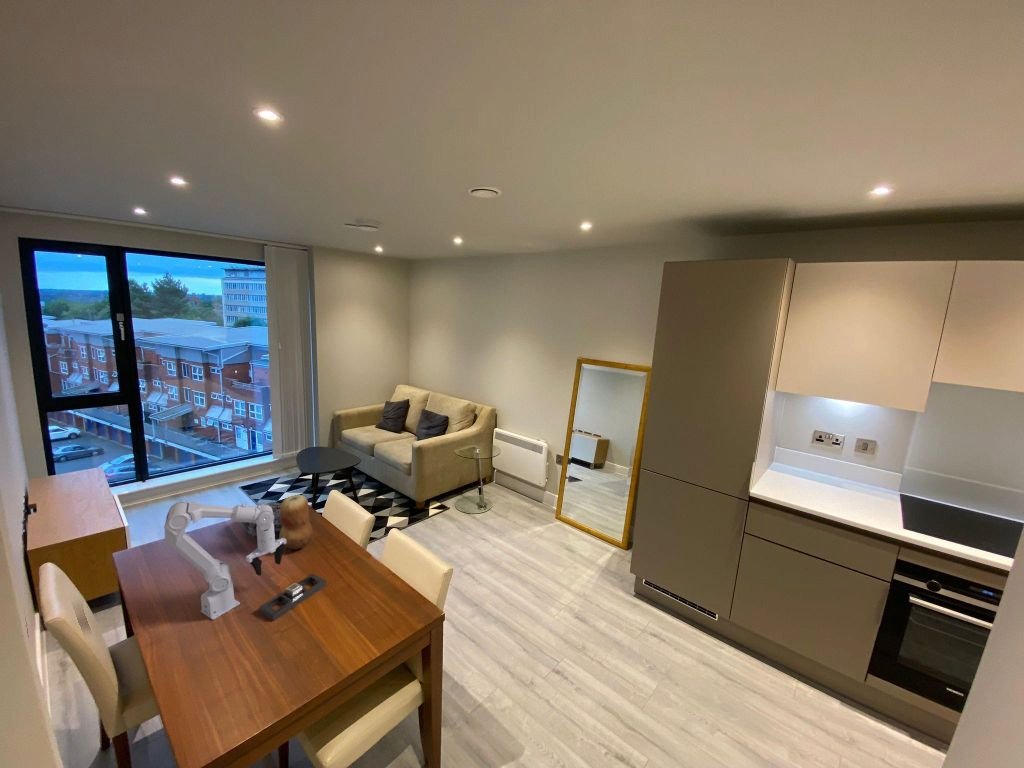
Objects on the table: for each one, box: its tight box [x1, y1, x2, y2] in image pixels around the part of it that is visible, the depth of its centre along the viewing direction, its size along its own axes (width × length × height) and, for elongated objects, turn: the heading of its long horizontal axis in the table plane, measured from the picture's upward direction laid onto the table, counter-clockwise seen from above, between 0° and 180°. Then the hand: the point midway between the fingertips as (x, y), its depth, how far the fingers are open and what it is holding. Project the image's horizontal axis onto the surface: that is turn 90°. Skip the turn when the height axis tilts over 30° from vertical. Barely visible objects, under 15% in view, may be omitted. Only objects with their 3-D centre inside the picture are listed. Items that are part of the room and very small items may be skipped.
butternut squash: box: [279, 494, 314, 551], centre depth 188 cm, size 14×13×25 cm
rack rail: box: [259, 573, 327, 622], centre depth 158 cm, size 22×8×2 cm, turn 153°
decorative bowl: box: [241, 502, 283, 541], centre depth 202 cm, size 26×28×10 cm
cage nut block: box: [285, 582, 302, 600], centre depth 158 cm, size 4×4×5 cm
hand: (268, 568), depth 159 cm, fingers open, 7 cm apart
